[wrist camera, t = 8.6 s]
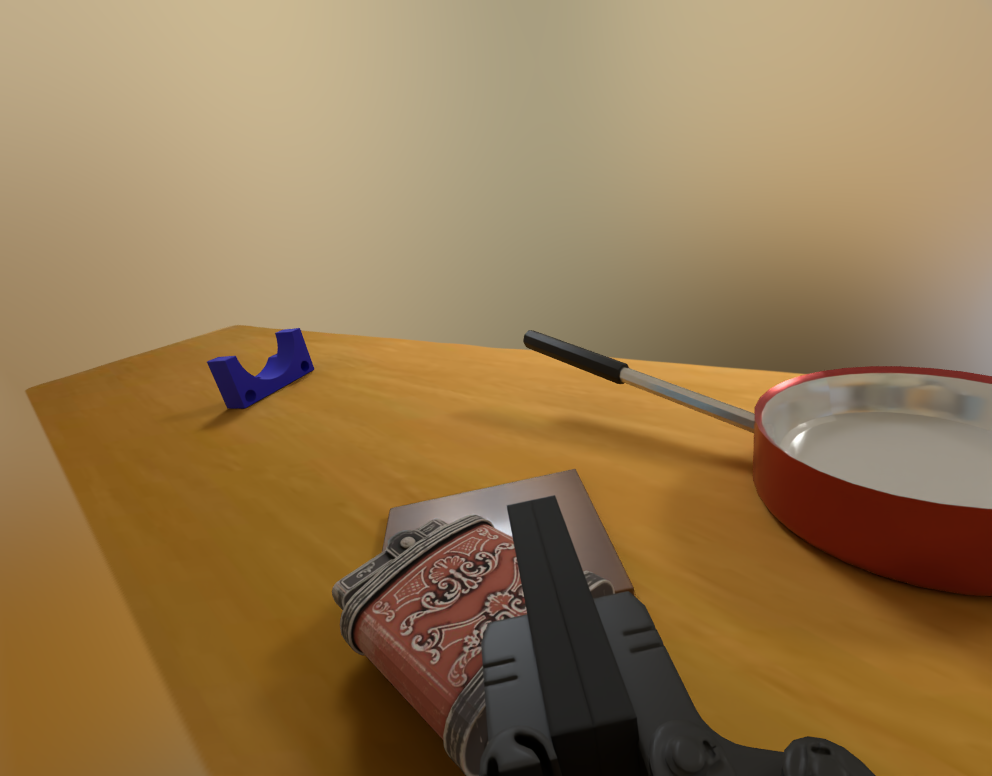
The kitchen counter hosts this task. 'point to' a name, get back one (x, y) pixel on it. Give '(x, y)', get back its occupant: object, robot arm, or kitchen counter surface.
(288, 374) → the blue notched block
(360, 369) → the kitchen counter surface
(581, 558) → the plate
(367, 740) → the kitchen counter surface
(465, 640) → the lighter
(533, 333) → the frying pan
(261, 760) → the kitchen counter surface
